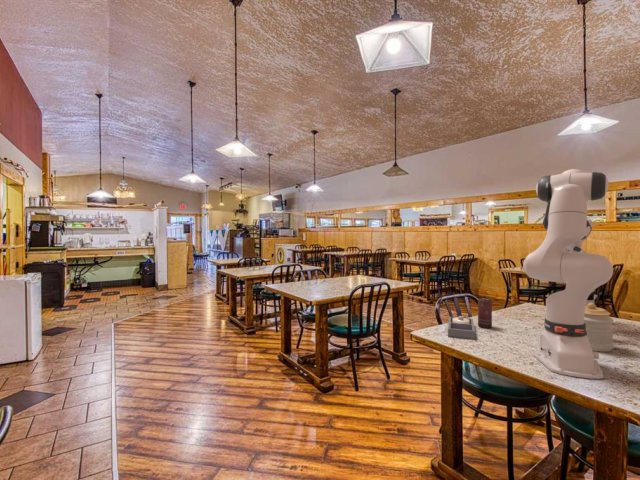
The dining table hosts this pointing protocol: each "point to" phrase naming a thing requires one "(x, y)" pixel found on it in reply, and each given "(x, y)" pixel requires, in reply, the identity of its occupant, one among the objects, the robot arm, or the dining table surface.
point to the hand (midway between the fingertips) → (552, 271)
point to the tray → (461, 329)
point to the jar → (599, 328)
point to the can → (485, 312)
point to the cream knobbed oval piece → (461, 320)
